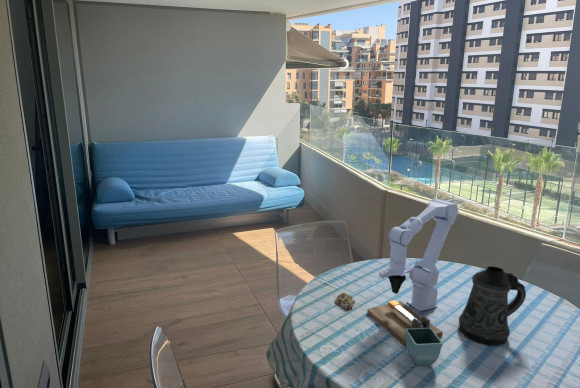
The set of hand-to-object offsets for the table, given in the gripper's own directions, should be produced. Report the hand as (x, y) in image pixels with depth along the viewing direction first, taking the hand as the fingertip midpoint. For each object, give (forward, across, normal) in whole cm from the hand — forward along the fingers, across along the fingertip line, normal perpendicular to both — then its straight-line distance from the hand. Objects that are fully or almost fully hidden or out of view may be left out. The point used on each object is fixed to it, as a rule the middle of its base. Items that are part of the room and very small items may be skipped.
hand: (395, 292), depth 149 cm
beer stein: (+10, +25, -21) cm, 34 cm away
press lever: (+6, 0, -7) cm, 10 cm away
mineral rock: (+11, -12, +16) cm, 22 cm away
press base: (+10, 0, -6) cm, 12 cm away
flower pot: (+10, -8, -25) cm, 28 cm away
